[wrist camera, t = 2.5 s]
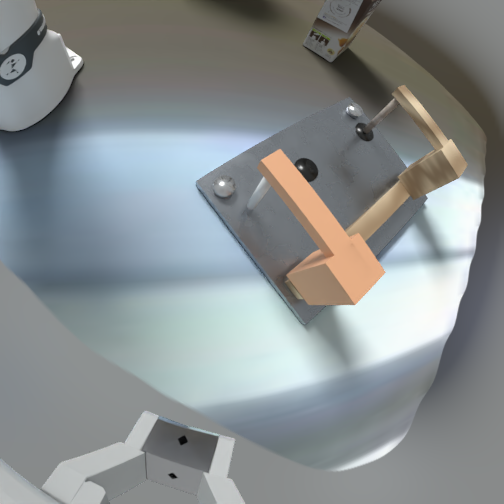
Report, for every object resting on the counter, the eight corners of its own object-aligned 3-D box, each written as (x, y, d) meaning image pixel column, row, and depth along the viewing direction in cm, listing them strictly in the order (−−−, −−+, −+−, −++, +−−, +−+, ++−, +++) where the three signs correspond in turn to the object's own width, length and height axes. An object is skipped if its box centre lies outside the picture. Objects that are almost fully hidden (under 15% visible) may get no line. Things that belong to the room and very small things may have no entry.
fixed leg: (229, 210, 32) (249, 168, 21) (367, 122, 39) (407, 83, 28) (301, 305, 32) (353, 304, 21) (418, 190, 38) (467, 165, 28)
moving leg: (231, 208, 31) (250, 166, 21) (259, 188, 32) (289, 143, 22) (304, 304, 31) (355, 304, 21) (330, 281, 32) (385, 272, 22)
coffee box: (331, 64, 41) (373, 1, 26) (301, 45, 41) (335, -21, 25) (348, 47, 44) (387, -7, 28) (321, 30, 43) (354, -27, 28)
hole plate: (195, 185, 33) (196, 177, 30) (346, 101, 40) (352, 93, 38) (301, 323, 32) (309, 324, 30) (422, 200, 40) (431, 196, 38)
